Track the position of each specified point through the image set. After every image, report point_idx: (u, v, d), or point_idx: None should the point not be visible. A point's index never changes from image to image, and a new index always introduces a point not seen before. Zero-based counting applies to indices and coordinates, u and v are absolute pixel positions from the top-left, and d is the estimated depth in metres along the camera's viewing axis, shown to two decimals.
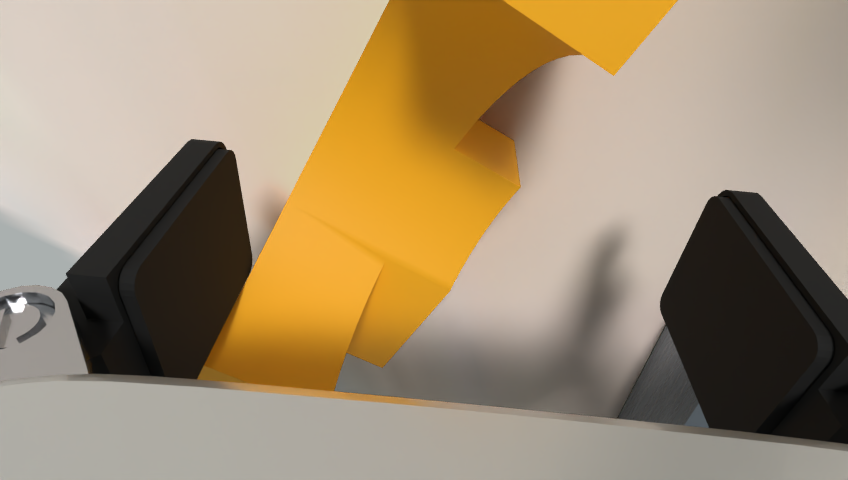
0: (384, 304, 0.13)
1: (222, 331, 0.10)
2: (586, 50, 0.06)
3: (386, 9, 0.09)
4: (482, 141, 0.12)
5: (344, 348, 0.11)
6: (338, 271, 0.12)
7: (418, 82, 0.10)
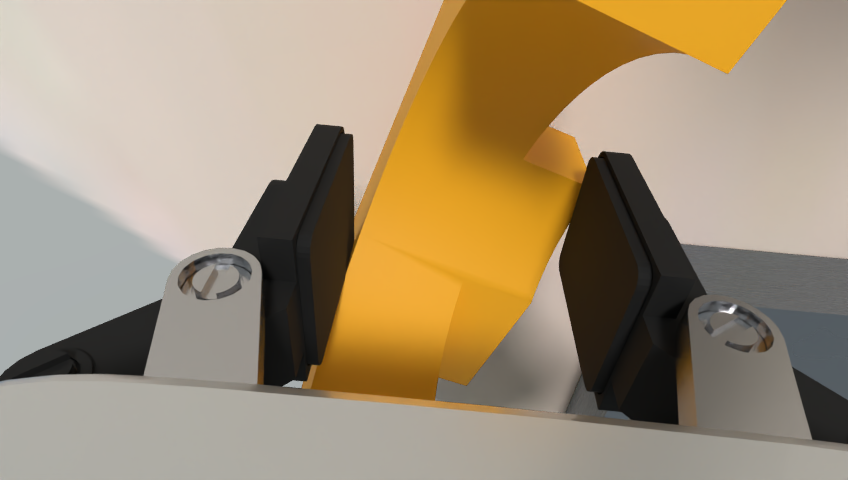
0: (465, 323, 0.13)
1: (317, 372, 0.10)
2: (696, 52, 0.05)
3: (449, 32, 0.09)
4: (546, 146, 0.12)
5: (435, 374, 0.11)
6: (418, 297, 0.12)
7: (482, 99, 0.10)
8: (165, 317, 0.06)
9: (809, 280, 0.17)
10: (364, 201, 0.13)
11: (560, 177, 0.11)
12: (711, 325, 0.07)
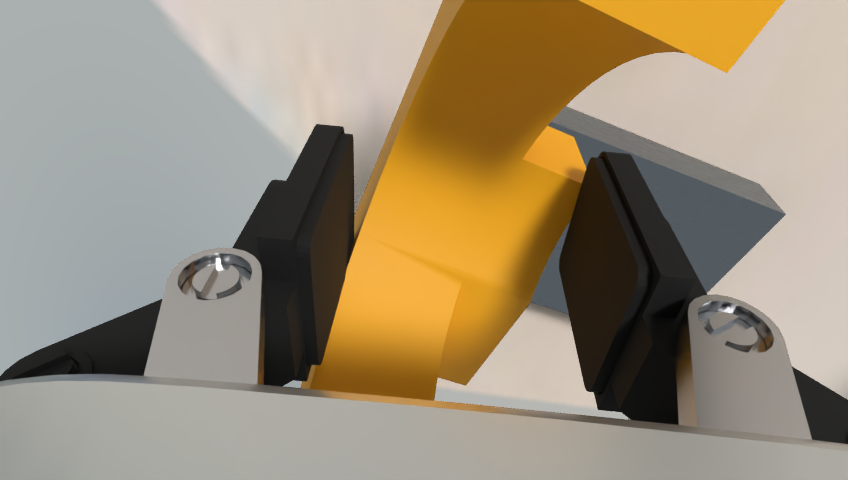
0: (464, 323, 0.13)
1: (316, 372, 0.10)
2: (695, 51, 0.05)
3: (448, 31, 0.09)
4: (546, 146, 0.12)
5: (434, 374, 0.11)
6: (417, 296, 0.12)
7: (482, 99, 0.10)
8: (165, 317, 0.06)
9: (604, 131, 0.27)
10: (363, 200, 0.13)
11: (559, 177, 0.11)
12: (711, 325, 0.07)
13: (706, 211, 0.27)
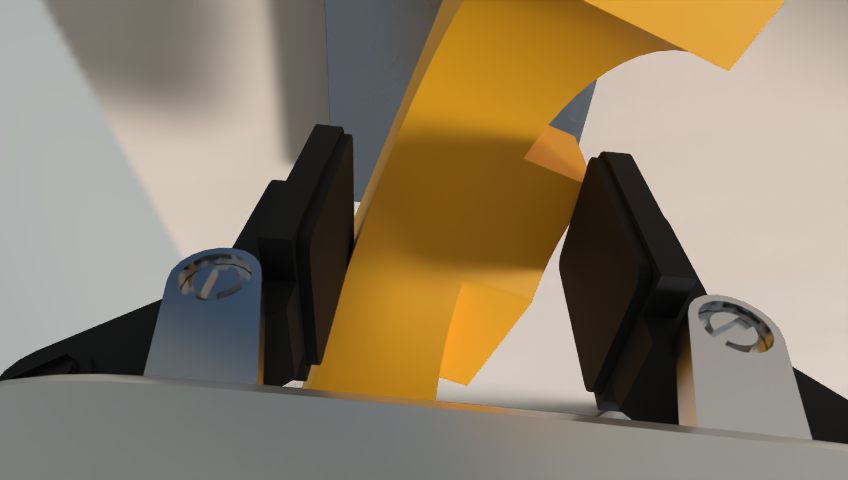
0: (465, 323, 0.13)
1: (317, 372, 0.10)
2: (697, 49, 0.05)
3: (448, 30, 0.09)
4: (547, 145, 0.12)
5: (436, 374, 0.11)
6: (418, 297, 0.12)
7: (482, 98, 0.10)
8: (165, 317, 0.06)
9: None
10: (364, 201, 0.13)
11: (560, 176, 0.11)
12: (711, 325, 0.07)
13: None
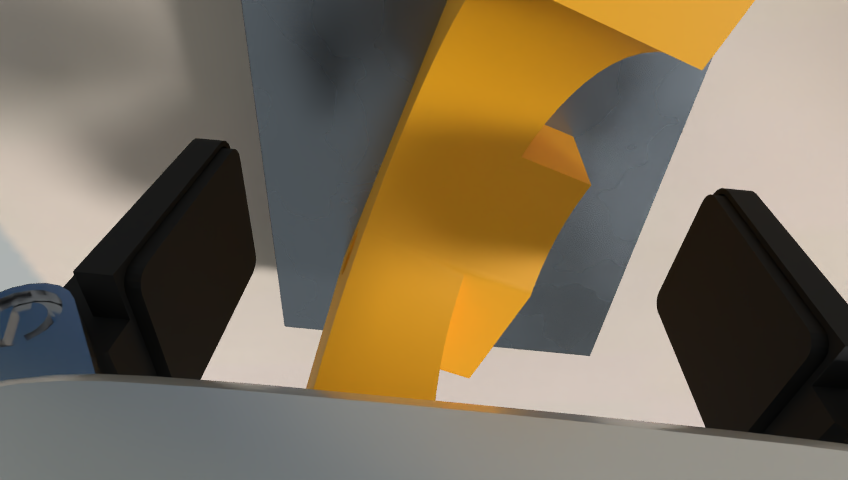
0: (467, 316, 0.13)
1: (323, 360, 0.11)
2: (672, 50, 0.06)
3: (448, 34, 0.09)
4: (545, 145, 0.12)
5: (437, 363, 0.12)
6: (420, 290, 0.12)
7: (481, 99, 0.10)
8: None
9: None
10: (370, 198, 0.14)
11: (557, 174, 0.11)
12: None
13: (576, 272, 0.16)
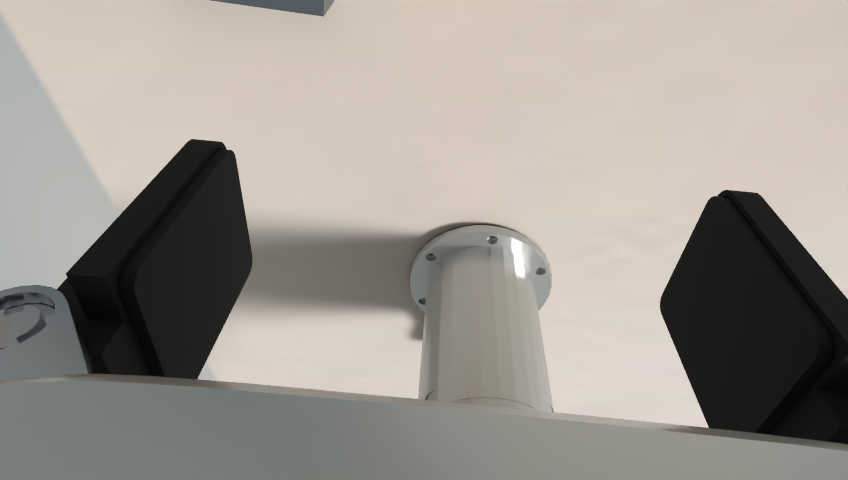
0: None
1: None
2: None
3: None
4: None
5: None
6: None
7: None
8: None
9: None
10: None
11: None
12: None
13: None
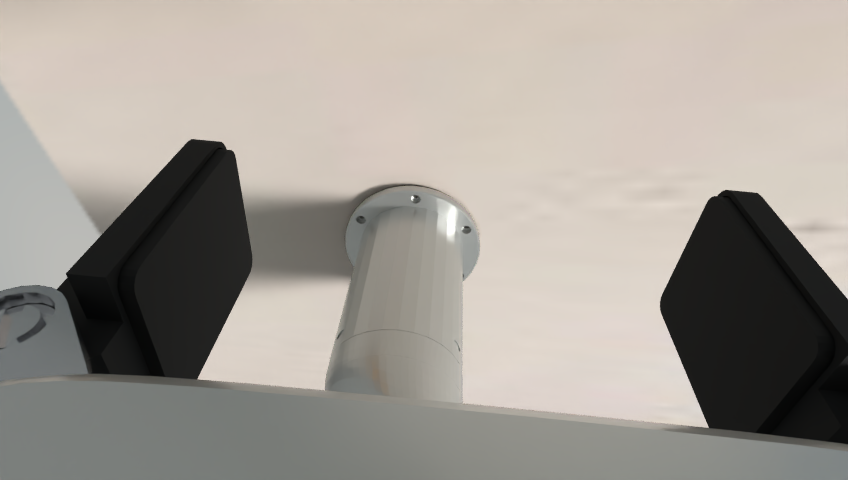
0: None
1: None
2: None
3: None
4: None
5: None
6: None
7: None
8: None
9: None
10: None
11: None
12: None
13: None
